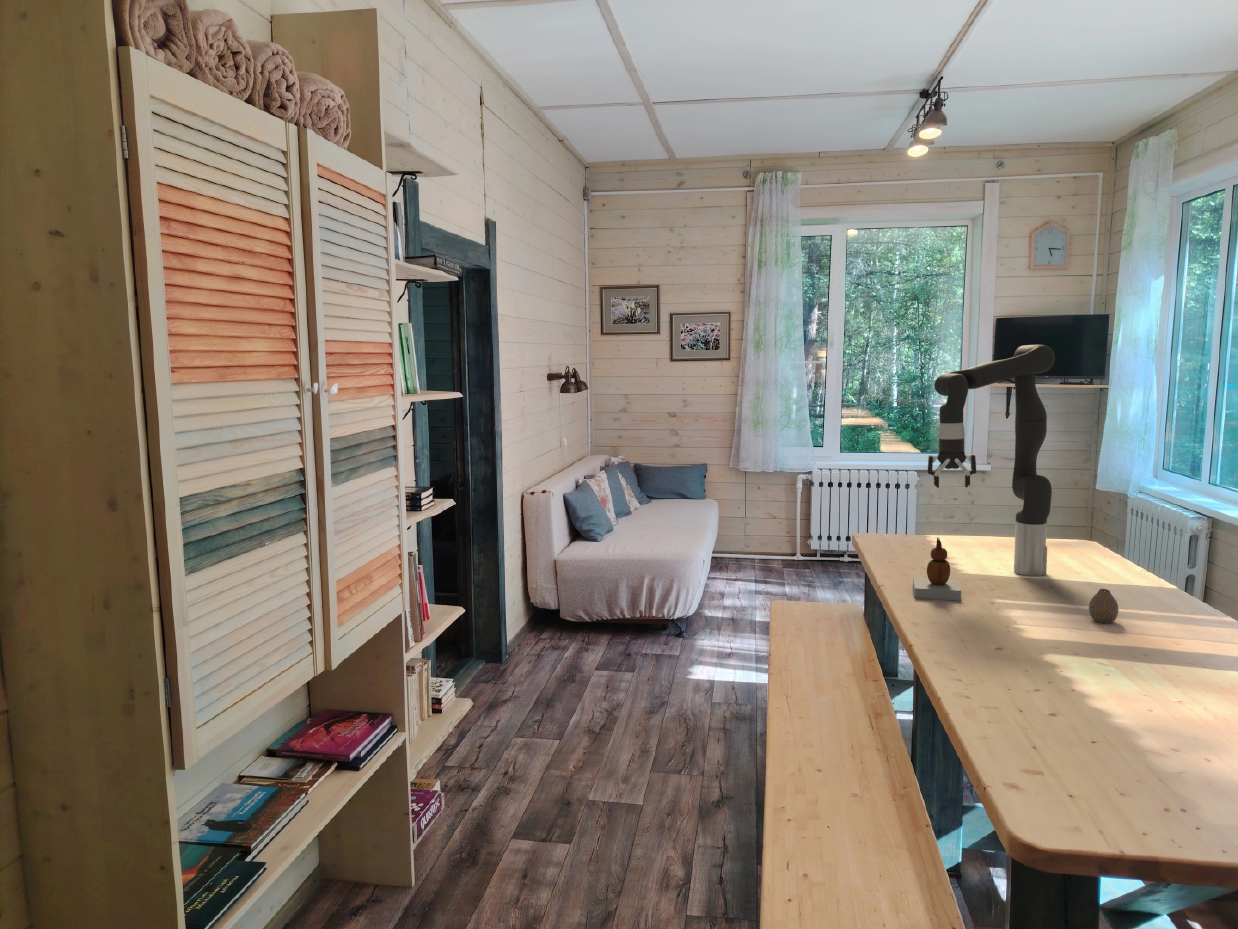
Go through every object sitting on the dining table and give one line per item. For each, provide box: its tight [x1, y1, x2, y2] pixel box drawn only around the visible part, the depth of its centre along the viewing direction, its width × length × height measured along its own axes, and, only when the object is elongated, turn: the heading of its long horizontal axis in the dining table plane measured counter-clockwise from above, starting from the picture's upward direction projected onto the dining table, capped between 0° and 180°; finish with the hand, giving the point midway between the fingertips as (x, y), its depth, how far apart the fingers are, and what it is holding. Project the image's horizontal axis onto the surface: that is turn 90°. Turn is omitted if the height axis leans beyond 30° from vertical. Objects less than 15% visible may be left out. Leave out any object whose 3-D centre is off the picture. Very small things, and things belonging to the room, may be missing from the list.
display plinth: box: [912, 576, 962, 602], centre depth 249 cm, size 13×13×3 cm
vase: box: [1088, 588, 1120, 624], centre depth 219 cm, size 7×7×9 cm
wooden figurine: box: [926, 536, 951, 585], centre depth 248 cm, size 7×6×15 cm
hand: (951, 487), depth 258 cm, fingers open, 8 cm apart
